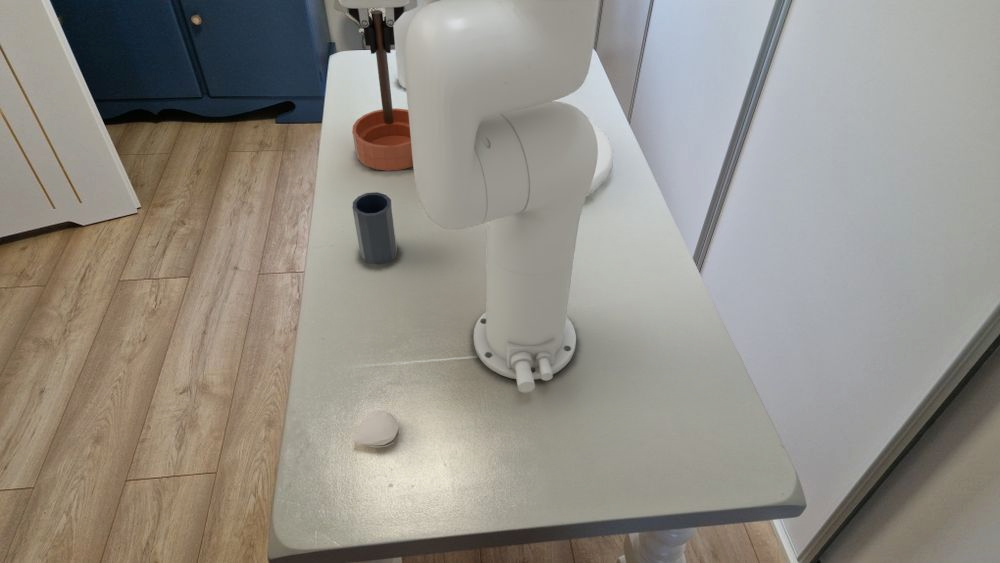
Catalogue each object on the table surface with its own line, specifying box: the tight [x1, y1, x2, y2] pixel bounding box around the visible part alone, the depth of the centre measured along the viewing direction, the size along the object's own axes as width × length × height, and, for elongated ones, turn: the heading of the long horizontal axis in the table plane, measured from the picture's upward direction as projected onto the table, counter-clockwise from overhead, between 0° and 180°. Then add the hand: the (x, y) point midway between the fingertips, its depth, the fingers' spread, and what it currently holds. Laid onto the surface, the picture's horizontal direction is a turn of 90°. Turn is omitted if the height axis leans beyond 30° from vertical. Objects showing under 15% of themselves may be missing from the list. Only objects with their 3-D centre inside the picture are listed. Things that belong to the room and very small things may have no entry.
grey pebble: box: [352, 409, 400, 448], centre depth 70 cm, size 4×5×2 cm
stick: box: [370, 9, 394, 125], centre depth 101 cm, size 2×2×18 cm
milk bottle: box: [393, 0, 428, 89], centre depth 123 cm, size 8×8×20 cm
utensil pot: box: [351, 191, 398, 266], centre depth 89 cm, size 5×5×9 cm
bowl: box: [351, 107, 413, 172], centre depth 110 cm, size 12×12×5 cm
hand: (380, 48), depth 99 cm, fingers closed on stick, 1 cm apart
